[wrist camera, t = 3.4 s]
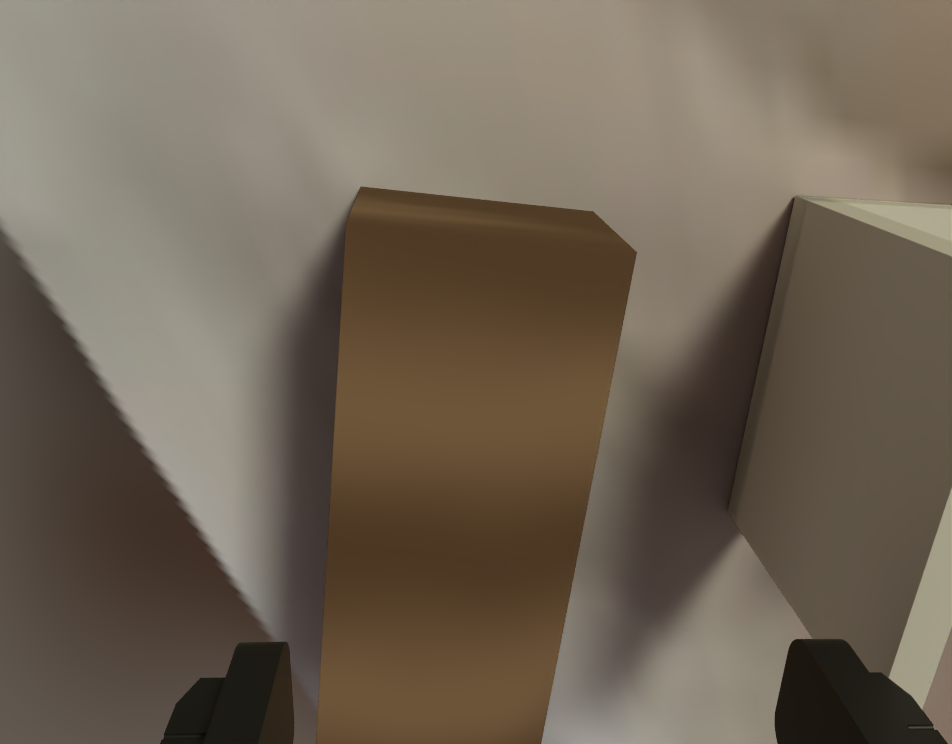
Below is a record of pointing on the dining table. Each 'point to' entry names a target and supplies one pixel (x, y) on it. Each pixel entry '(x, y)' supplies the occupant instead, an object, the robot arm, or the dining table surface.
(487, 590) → the brown rectangular block
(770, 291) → the dining table surface
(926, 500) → the shelf frame
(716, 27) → the dining table surface
